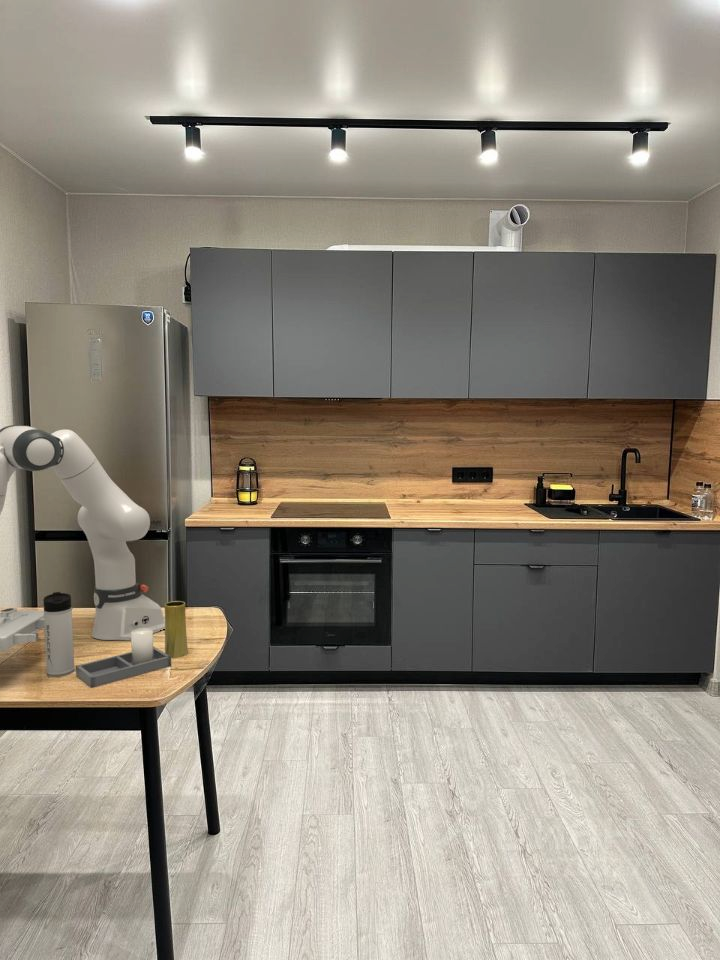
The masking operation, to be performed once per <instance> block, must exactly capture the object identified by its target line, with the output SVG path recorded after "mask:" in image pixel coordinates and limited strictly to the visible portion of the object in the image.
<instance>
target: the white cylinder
mask: <svg viewBox="0 0 720 960" xmlns="http://www.w3.org/2000/svg"><path fill="white" fill-rule="evenodd" d="M130 641H131V652H132V665H137V664H140V663H144V662H148V661H152V660H154V655H153V646H154V633H153V630H152V629H151V628H138V629H135V630H132V631H131V640H130Z"/></svg>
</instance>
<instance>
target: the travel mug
mask: <svg viewBox="0 0 720 960" xmlns="http://www.w3.org/2000/svg"><path fill="white" fill-rule="evenodd" d="M42 601H43V611H44V626H45V628H44V641H45V664H46V677H47V678H50V679H51V678H60V677H65V676H66V677H67V676H69V675H70V674H72V673H74V672H75V651H74V650H75V649H74V631H73V626H74V625H73V610H72V608H73V607H72V595H70V593H65V592H64V593H63V592H61V591H56V592H55V591H54V592H52V594H48V595H46V596H44V597H43V600H42Z"/></svg>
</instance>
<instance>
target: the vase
mask: <svg viewBox="0 0 720 960" xmlns="http://www.w3.org/2000/svg"><path fill="white" fill-rule="evenodd" d="M186 616H187V615H186V602H185V601H181V600H173V601H171V600H170V601H168V602H166V603H165V604H164V617H165V630H164V653H166V654H167V655H169V656H171V659H178V658H183V657H186V656H187V655H189V650H188V633H187V623H186V622H187V620H186V619H187V618H186Z"/></svg>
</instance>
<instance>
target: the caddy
mask: <svg viewBox="0 0 720 960" xmlns="http://www.w3.org/2000/svg"><path fill="white" fill-rule="evenodd" d="M153 655H154V660H152V661H148V662H144V663H140V664H137V665H132V651H130V652H126V653H121V654H117V655H113V656H110V657H105V658H101V659H98V660H94V661H90V662H86V663H82V664H77V665H75V674H76V675H75V676H76V677H77V678H79V680H81V681H82V682H84V683H85V684H86V685H87V686H89V687H90V688H91V689H92V688H97V687H100V686H101V687H102V686H104V685H107V684H108V685H109V684H110V683H114V682H117V681H118V682H119V681H123V680H126V679H129V678H130V679H131V678H133V677H137V676H141V675H143V674H146V673H147V674H148V673H151V672H155V671H158V670H162V669H166V668H170V667H172V658H171V656H169V655H167V654H166V653H165V651H162V650H160V649H158V648H157V647H156V646H154V645H153Z"/></svg>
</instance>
